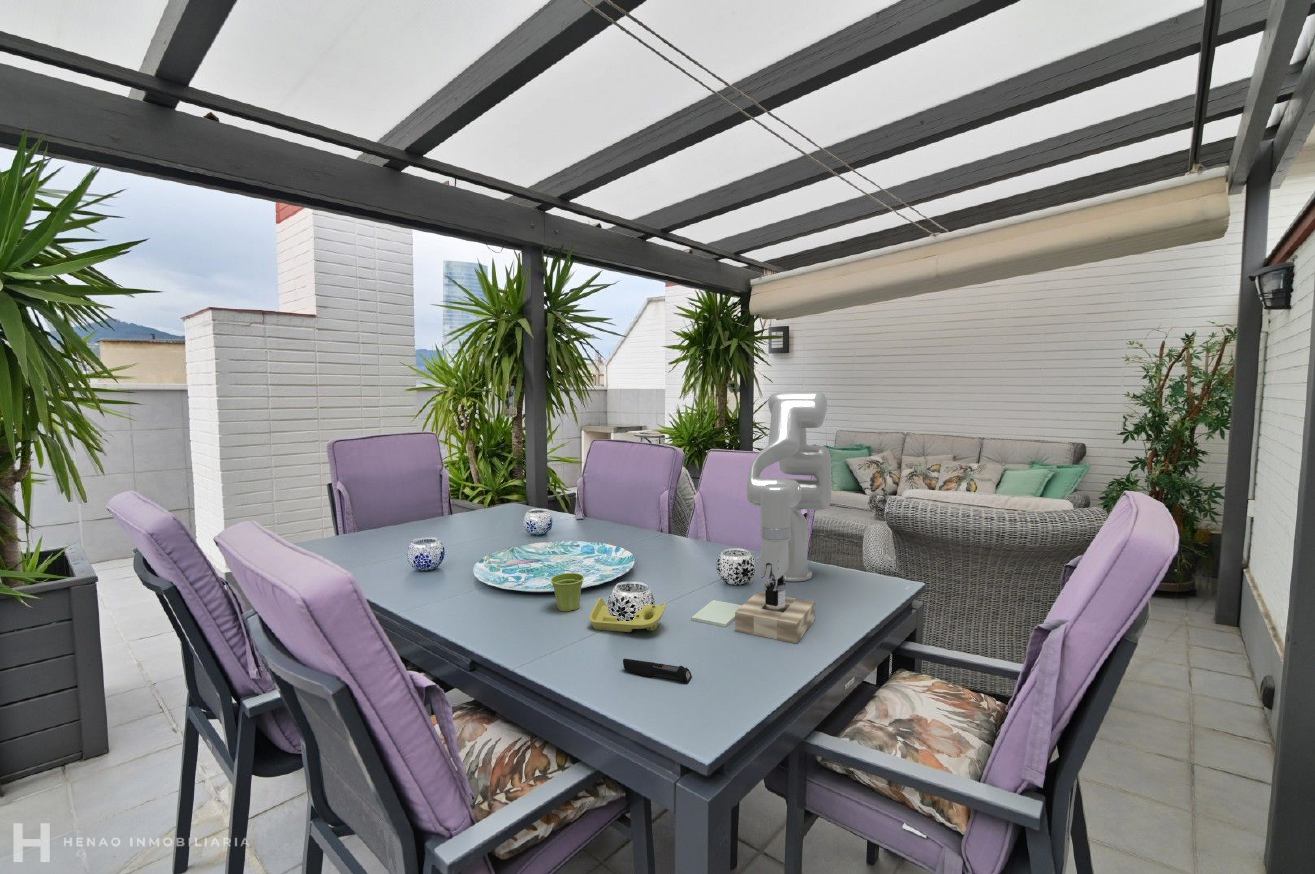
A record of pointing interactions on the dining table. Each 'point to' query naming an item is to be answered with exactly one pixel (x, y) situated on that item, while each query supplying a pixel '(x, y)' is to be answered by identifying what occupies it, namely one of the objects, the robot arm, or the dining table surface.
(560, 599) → the plant pot
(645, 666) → the electric trimmer
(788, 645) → the dining table surface
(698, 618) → the mat
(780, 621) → the bore block
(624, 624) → the plastic component
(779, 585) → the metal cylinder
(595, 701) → the dining table surface
